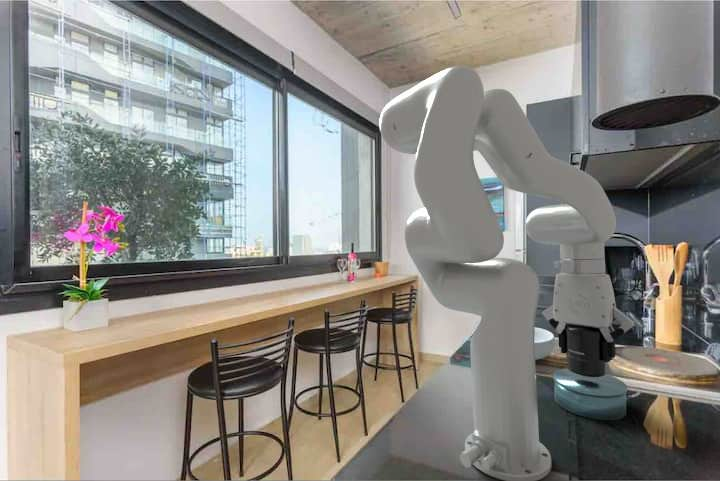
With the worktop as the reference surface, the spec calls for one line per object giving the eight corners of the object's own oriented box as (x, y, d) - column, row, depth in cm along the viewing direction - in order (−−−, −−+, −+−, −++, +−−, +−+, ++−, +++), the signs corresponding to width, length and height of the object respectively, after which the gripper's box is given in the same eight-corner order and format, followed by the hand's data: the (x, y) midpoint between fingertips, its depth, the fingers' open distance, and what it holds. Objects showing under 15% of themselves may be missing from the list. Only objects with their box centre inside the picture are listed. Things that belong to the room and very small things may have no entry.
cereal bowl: (477, 352, 103) (476, 329, 103) (523, 345, 108) (521, 322, 108) (519, 373, 87) (517, 345, 87) (570, 363, 92) (569, 336, 92)
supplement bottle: (567, 375, 68) (565, 314, 68) (565, 363, 74) (563, 307, 74) (610, 380, 65) (607, 316, 65) (604, 367, 71) (602, 309, 71)
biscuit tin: (627, 428, 61) (627, 400, 61) (548, 408, 69) (548, 383, 69) (627, 401, 71) (627, 377, 71) (558, 386, 79) (558, 364, 79)
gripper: (529, 267, 74) (533, 350, 74) (630, 271, 61) (634, 373, 61) (545, 264, 79) (548, 343, 79) (641, 267, 65) (645, 361, 65)
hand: (586, 355), depth 70 cm, fingers closed on supplement bottle, 6 cm apart
